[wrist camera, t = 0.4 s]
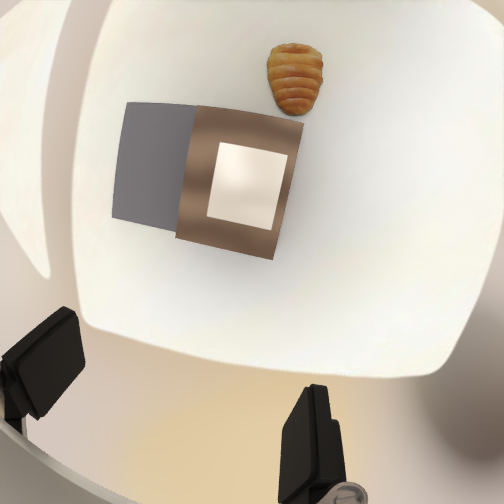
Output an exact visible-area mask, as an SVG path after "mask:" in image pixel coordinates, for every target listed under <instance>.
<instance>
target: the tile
mask: <svg viewBox="0 0 504 504" xmlns="http://www.w3.org/2000/svg"><path fill="white" fill-rule="evenodd" d="M287 157H288V155H284V154H280V153H275V152H270V151H266V150H261V149H256V148H250V147H245V146H239V145H234V144H228V143H222V142H220V145H219V150H218V155H217V160H216V166H215V171H214V176H213V182H212V188H211V193H210V199H209V205H208V211H207V216H208V217H212V218H217V219H222V220H226V221H231V222H235V223H240V224H245V225H249V226H254V227H258V228H262V229H267V230H271V228H272V224H273V220H274V215H275V211H276V206H277V202H278V197H279V193H280V189H281V184H282V180H283V175H284V171H285V166H286V161H287Z"/></svg>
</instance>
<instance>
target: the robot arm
mask: <svg viewBox="0 0 504 504" xmlns="http://www.w3.org/2000/svg"><path fill="white" fill-rule="evenodd" d="M2 359H3V360H2V361H1V362H0V504H141V503H138V502H135V501H133V500H131V499H128V498H126V497H124V496H121V495H119V494H117V493H115V492H113V491H110V490H108V489H106V488H104V487H102V486H100V485H98V484H96V483H94V482H92V481H90V480H89V479H87V478H85V477H83V476H82V475H80V474H78V473H76V472H75V471H73V470H71V469H70V468H68V467H66V466H65V465H63V464H62V463H60V462H59V461H57V460H56V459H54V458H53V457H51V456H50V455H48V454H47V453H45V452H44V451H42V450H41V449H40V448H38V447H37V446H35V445H34V444H33V443H31V442H30V441H29V440H28V439H27V429H26V415H27V414H28V413H29V414H30V415H31V416H32V417H33V418H35V419H36V420H37V421H38V420H39V419H40V417H44V416H45V415H46V414H47V413H48V411H49V410H50V409H51V408H52V406H53V405H54V404H55V403H56V401H57V400H58V399H59V397H60V396H61V395H62V394H63V392H64V391H65V390H66V389H67V388H68V387H69V385H70V384H71V383H72V382H73V381H74V379H75V378H76V377H77V376H78V375H79V374H80V372H81V371H82V370H83V369H84V367H85V357H84V352H83V346H82V340H81V334H80V327H79V320H78V317H77V316H76V313H75V311H73V310H71V309H69V308H67V307H65V306H63V307H61V308H59V309H58V310H57V311H56V312H54V313H53V314H52V315H50V316H49V317H48V318H47V319H46V320H44V321H43V322H42V323H40V324H39V325H38V326H37V327H36V328H34V329H33V330H32V331H31V332H29V333H28V334H27V335H26V336H25V337H23V338H22V339H21V340H20V341H19V342H17V343H16V344H15V345H14V346H13V347H12V348H10V349H9V350H8V351H7V352H6V353H5V354H4V355H3V356H2ZM278 503H279V504H368V495H367V493H366V491H365V489H364V488H363V487H362V486H360V485H359V484H356V483H353V482H347V481H346V472H345V463H344V455H343V447H342V439H341V432H340V425H339V422H338V421H337V420H335V419H331V411H330V403H329V396H328V389H327V387H326V386H323V385H316V384H311V385H310V387H305V388H304V390H303V392H302V394H301V395H300V397H299V399H298V401H297V403H296V405H295V407H294V408H293V410H292V412H291V414H290V415H289V417H288V419H287V421H286V423H285V424H284V426H283V430H282V441H281V460H280V476H279V490H278Z"/></svg>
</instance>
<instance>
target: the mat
mask: <svg viewBox="0 0 504 504" xmlns="http://www.w3.org/2000/svg"><path fill="white" fill-rule="evenodd" d="M196 109H197V106H193V105H181V104H165V103H136V102H127V106H126V110H125V115H124V121H123V126H122V132H121V138H120V144H119V151H118V158H117V165H116V174H115V183H114V194H113V207H112V218H116V219H121V220H125V221H130V222H134V223H139V224H143V225H148V226H152V227H157V228H161V229H166V230H170V231H174V232H176V228H177V220H178V213H179V205H180V198H181V191H182V185H183V178H184V172H185V166H186V160H187V155H188V149H189V144H190V139H191V133H192V128H193V124H194V119H195V114H196Z"/></svg>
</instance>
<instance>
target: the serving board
mask: <svg viewBox="0 0 504 504" xmlns="http://www.w3.org/2000/svg"><path fill="white" fill-rule="evenodd" d="M303 126H304V123H301V122H296V121H292V120H287V119H283V118H278V117H273V116H268V115H263V114H257V113H251V112H245V111H239V110H232V109H225V108H217V107H209V106H199V105H197V109H196V114H195V119H194V124H193V128H192V133H191V139H190V144H189V149H188V155H187V160H186V166H185V172H184V178H183V185H182V191H181V198H180V205H179V213H178V220H177V228H176V237H175V238H178V239H182V240H187V241H191V242H195V243H200V244H204V245H208V246H213V247H217V248H221V249H226V250H230V251H235V252H239V253H243V254H248V255H252V256H256V257H261V258H265V259H270V260H273V257H274V253H275V249H276V244H277V240H278V236H279V232H280V228H281V223H282V219H283V215H284V211H285V206H286V202H287V198H288V193H289V189H290V185H291V180H292V176H293V171H294V167H295V162H296V158H297V153H298V149H299V144H300V140H301V135H302V130H303ZM220 142H222V143H228V144H234V145H239V146H245V147H250V148H256V149H261V150H266V151H270V152H275V153H280V154H284V155H288V157H287V161H286V166H285V171H284V175H283V180H282V184H281V189H280V193H279V197H278V202H277V206H276V211H275V215H274V220H273V224H272V228H271V230H267V229H262V228H258V227H254V226H249V225H245V224H240V223H235V222H231V221H226V220H222V219H217V218H212V217H208V216H207V211H208V205H209V199H210V193H211V188H212V182H213V176H214V171H215V166H216V160H217V155H218V150H219V145H220Z"/></svg>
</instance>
